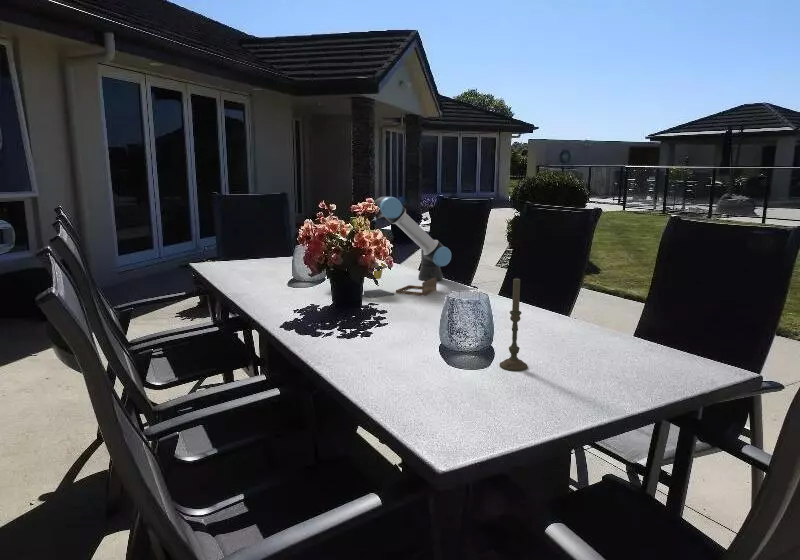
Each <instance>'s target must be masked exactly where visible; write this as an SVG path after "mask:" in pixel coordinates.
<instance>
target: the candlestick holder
mask: <svg viewBox="0 0 800 560" xmlns="http://www.w3.org/2000/svg"><path fill="white" fill-rule="evenodd" d="M512 280H513V281H512V306H511V308H512V309H511V310H510V311H509V314H510V315H511V316H510V317H509V319H510V321H511V322H512V325H511V326H512V327H511V331H512V333H511V334H512V335H511V336H512V337H511V340H512V343H511V345H509V346H508V350H509V353H510V356H509V358H506V359H504V360H503V361H501V362H500V363H499V367H500V368H501V369H502V370H506V371H509V372H521V371H525V370H527V369H528V367H529V366H528V364H527V363H526V362H524V361H523V360H522V359H520V358H519V357H518V354H519V352H520V350H521V349H520V347H519V346H518V343H517V339H518V332H519V324H518V322H520V321H521V315H522V311H521V310H520V293H521V279H520V278H513V279H512Z"/></svg>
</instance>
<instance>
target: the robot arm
mask: <svg viewBox="0 0 800 560" xmlns="http://www.w3.org/2000/svg"><path fill="white" fill-rule="evenodd" d="M373 202H374V203H375V204H376V205H377V206H378V207H379V208H380V212H379V213H378V214H377V215H375V217H374V219H373V220H372V221H377V220H379V219H381V218H385V219H386V220H387V221H388V222H389V223H390V224H392V225H396V226H397V227H398V228H399V229H401V230H402V231H403V232H404V234H406V235H407V236H408V238H410V239H411V240H412V241H413V242H414V243H415V244H416V245H417V246H418V247H420V249H421V250H420V252H421V253H420V255H421V257H420V259H421V265H420V269H419V273H418V280H419V281H423V280H425V281H428V280H430V279H433V278H437V281H438V282H439V281H442V280H443V279H444V274H443V272H442V269H441V267H446V266H447V265H448V264H449V263H450V262H451V260H452V252H451V250H450V249H449V248H448V247H447V246H444V245H443V244H442V243H441V242H440V241H439V240H438V239H433V237H431V236H430V235H429V234H428V233H427V232H426V231H425V230H424V229H423V228H422V227H421V226H420V225H419V224H418V223H417V222H416V221H415V220H414V219H413V218H411V216H409V214H407V208H405V207H404V206H403V205H402V202H401V201H400V200H399V199H398V198H397V197H394V196H386V195H385V196H380V197H378V198H377V199H375V200H373ZM387 268H388V267H386V265H385V264H384V267H383V269H387ZM425 281H424V282H425Z"/></svg>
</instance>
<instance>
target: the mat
mask: <svg viewBox="0 0 800 560" xmlns="http://www.w3.org/2000/svg"><path fill="white" fill-rule="evenodd" d="M363 291H364V296H363V297H366V296H367V298H369V297H370V298H371V299H372V297H373V298H379V297H380V296H381V297H387V296H386V295H388V296H394V295H395V293H394V292H390V291H387V290H384V289H380V288H376V289H369V290H363ZM370 298H369V299H370Z"/></svg>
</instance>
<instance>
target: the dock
mask: <svg viewBox="0 0 800 560" xmlns="http://www.w3.org/2000/svg"><path fill="white" fill-rule="evenodd" d="M408 288H409V289H414V288H418V289H417V290H421V292H420V291H411V290H408ZM405 289H406V290H405ZM403 290H404V291H403ZM436 291H437V278H433V279H430V280H428V281H423V282H421V285H413V284H412V285H406V286H403V287H400V288H398V289H396V290H395V294H401V293H405V294H404V295H411V294H415V295H414V296H421V295H425V296H427V295H429V294H431V292H432V293H433V292H436Z"/></svg>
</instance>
